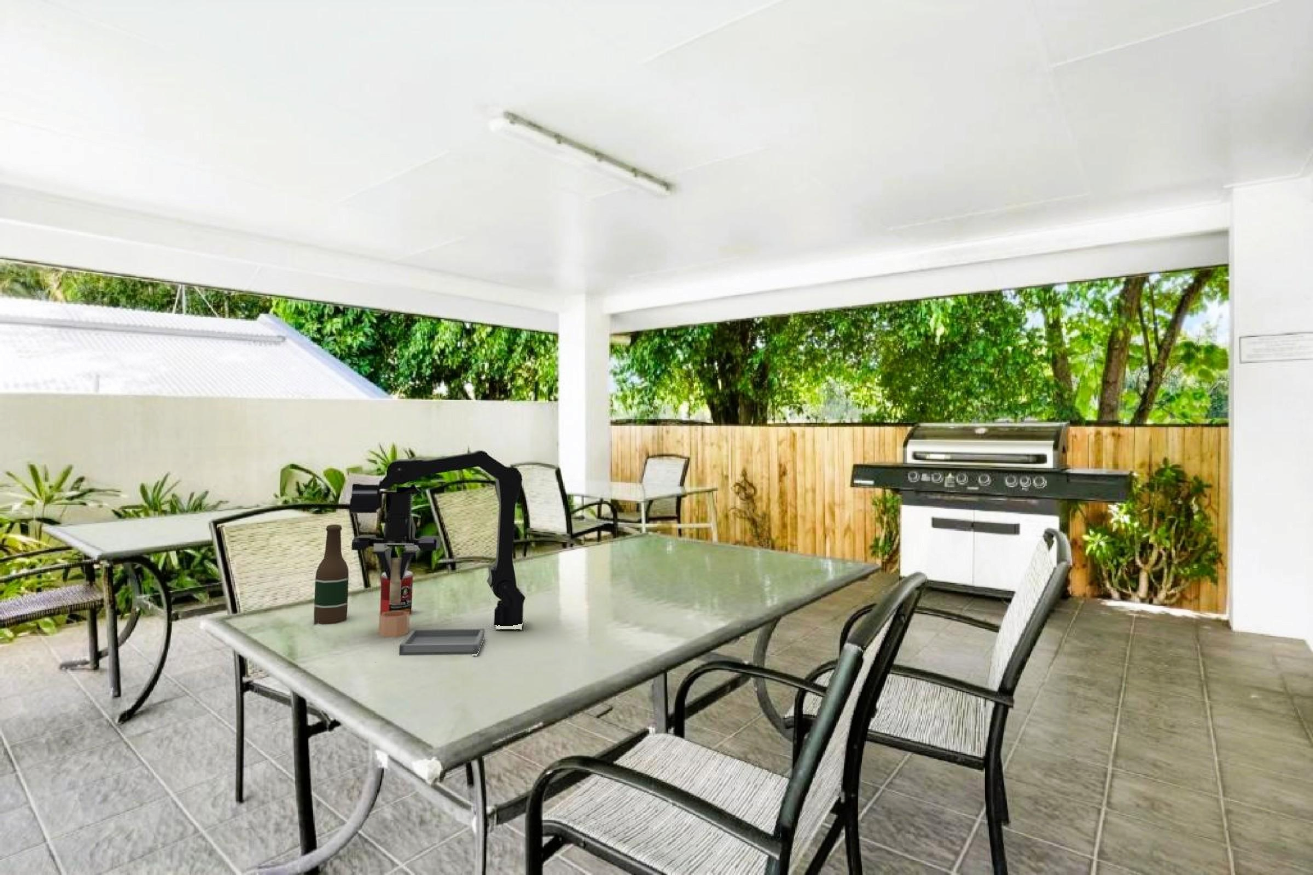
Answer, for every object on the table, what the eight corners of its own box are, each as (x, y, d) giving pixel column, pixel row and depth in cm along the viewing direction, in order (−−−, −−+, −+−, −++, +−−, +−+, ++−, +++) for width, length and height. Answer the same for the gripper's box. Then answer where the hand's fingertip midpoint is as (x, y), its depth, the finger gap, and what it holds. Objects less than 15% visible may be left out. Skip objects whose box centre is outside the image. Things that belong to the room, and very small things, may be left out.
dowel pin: (401, 602, 153) (403, 557, 154) (398, 604, 151) (400, 559, 151) (390, 602, 153) (392, 557, 153) (388, 604, 151) (389, 559, 151)
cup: (410, 631, 155) (411, 610, 155) (404, 638, 149) (405, 617, 149) (383, 631, 154) (384, 610, 155) (376, 639, 148) (377, 617, 149)
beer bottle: (338, 626, 157) (341, 527, 158) (306, 625, 157) (310, 526, 158) (353, 618, 165) (357, 523, 165) (323, 617, 165) (326, 522, 166)
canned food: (390, 621, 164) (392, 577, 164) (373, 615, 169) (375, 572, 169) (417, 615, 170) (419, 573, 170) (400, 610, 175) (402, 569, 175)
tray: (484, 639, 151) (484, 628, 151) (477, 656, 139) (477, 644, 139) (412, 640, 149) (412, 629, 149) (399, 657, 137) (399, 645, 137)
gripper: (445, 510, 162) (443, 573, 161) (366, 508, 159) (364, 572, 159) (437, 515, 151) (434, 582, 150) (351, 513, 148) (349, 582, 148)
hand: (395, 579), depth 152 cm, fingers closed on dowel pin, 2 cm apart
